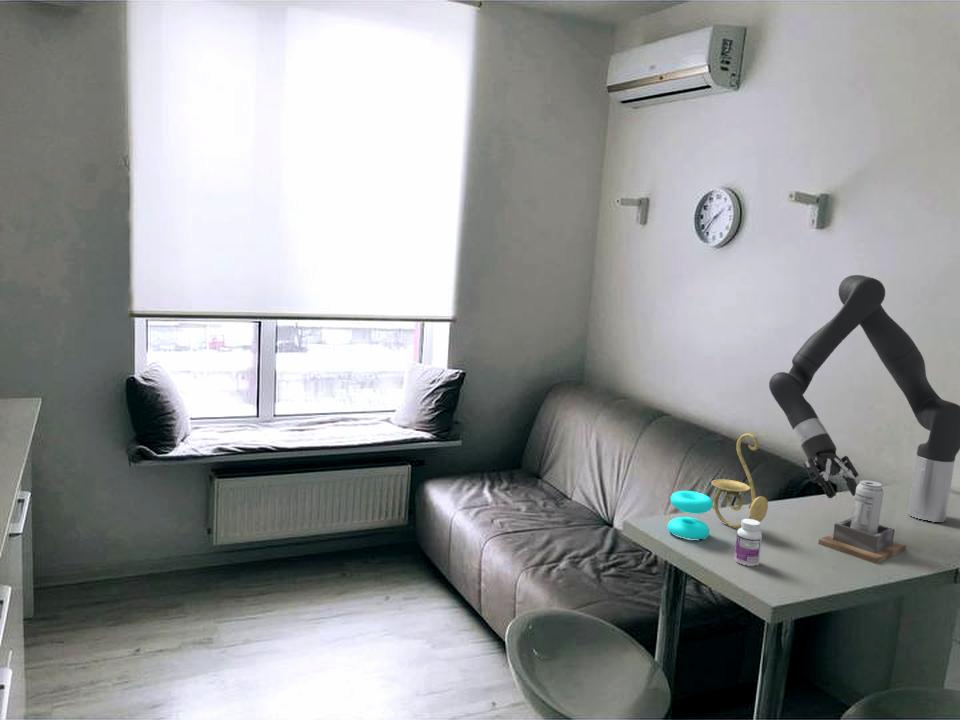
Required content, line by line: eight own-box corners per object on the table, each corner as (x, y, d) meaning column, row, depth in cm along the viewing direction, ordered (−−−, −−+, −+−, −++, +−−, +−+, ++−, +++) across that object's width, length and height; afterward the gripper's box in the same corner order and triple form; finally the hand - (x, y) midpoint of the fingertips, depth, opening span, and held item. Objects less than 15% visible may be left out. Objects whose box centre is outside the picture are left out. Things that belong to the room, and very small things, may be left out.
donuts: (722, 499, 193) (691, 504, 188) (717, 539, 194) (687, 544, 189) (692, 487, 202) (662, 491, 197) (688, 525, 203) (658, 530, 198)
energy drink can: (881, 546, 194) (890, 486, 191) (861, 547, 192) (870, 487, 189) (862, 536, 199) (871, 478, 197) (843, 537, 197) (851, 479, 195)
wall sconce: (768, 533, 201) (779, 436, 197) (744, 539, 195) (756, 440, 192) (722, 516, 212) (733, 424, 208) (699, 521, 206) (709, 427, 203)
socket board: (849, 532, 206) (851, 512, 205) (905, 550, 195) (908, 529, 195) (818, 543, 196) (820, 523, 195) (876, 563, 185) (879, 542, 184)
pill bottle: (736, 555, 184) (741, 515, 183) (760, 561, 182) (765, 521, 180) (731, 563, 180) (736, 521, 178) (755, 569, 177) (760, 527, 176)
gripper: (803, 433, 203) (834, 490, 194) (843, 431, 209) (875, 486, 200) (785, 448, 208) (814, 504, 200) (824, 445, 214) (854, 500, 206)
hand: (844, 495), depth 200 cm, fingers open, 8 cm apart
